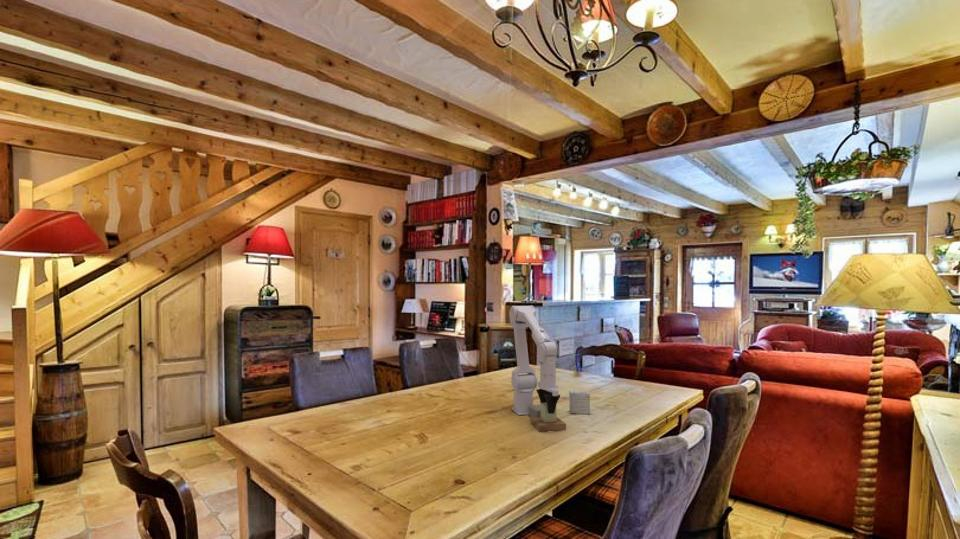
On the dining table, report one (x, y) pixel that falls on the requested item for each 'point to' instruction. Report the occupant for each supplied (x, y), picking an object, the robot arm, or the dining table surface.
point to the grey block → (535, 411)
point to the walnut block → (548, 425)
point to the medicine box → (579, 402)
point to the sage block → (547, 414)
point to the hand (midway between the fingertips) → (547, 410)
